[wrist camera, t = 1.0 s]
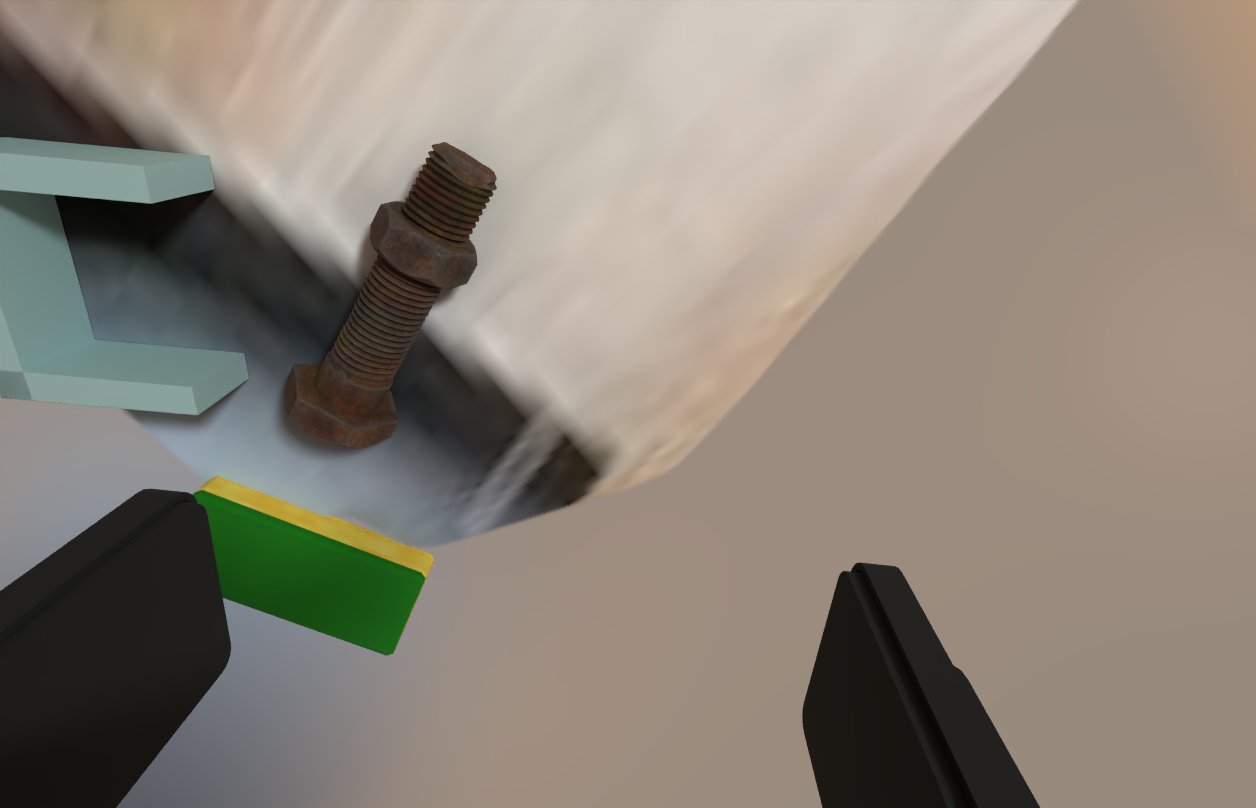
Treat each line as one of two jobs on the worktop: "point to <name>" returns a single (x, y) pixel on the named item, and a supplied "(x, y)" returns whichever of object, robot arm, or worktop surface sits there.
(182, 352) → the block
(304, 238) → the worktop surface
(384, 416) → the bolt
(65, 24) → the worktop surface
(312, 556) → the dish sponge
